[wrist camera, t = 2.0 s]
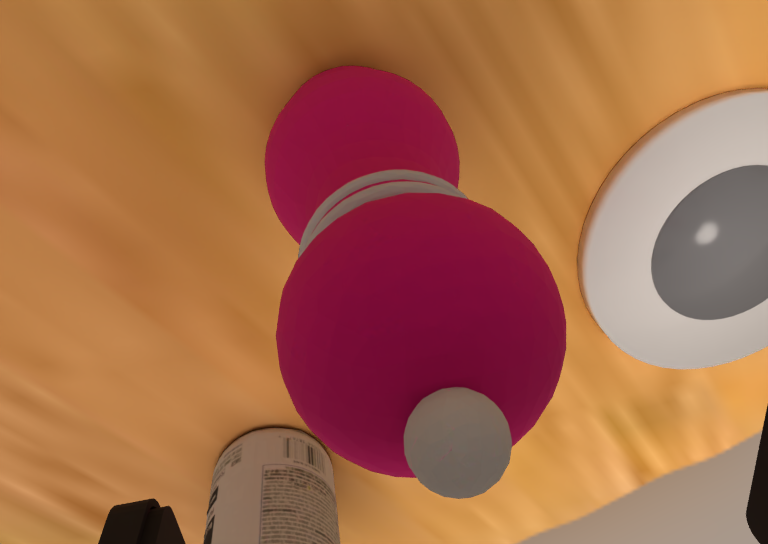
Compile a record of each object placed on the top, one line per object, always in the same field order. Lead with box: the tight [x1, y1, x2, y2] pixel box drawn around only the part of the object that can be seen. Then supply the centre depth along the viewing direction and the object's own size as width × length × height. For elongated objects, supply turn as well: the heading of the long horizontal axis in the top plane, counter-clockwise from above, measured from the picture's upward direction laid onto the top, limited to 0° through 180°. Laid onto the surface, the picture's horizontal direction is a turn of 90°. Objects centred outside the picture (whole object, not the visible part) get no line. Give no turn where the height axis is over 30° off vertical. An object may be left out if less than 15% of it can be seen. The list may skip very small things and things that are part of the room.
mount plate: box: [577, 88, 768, 369], centre depth 31 cm, size 15×15×1 cm
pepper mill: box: [265, 66, 566, 499], centre depth 18 cm, size 7×7×20 cm
